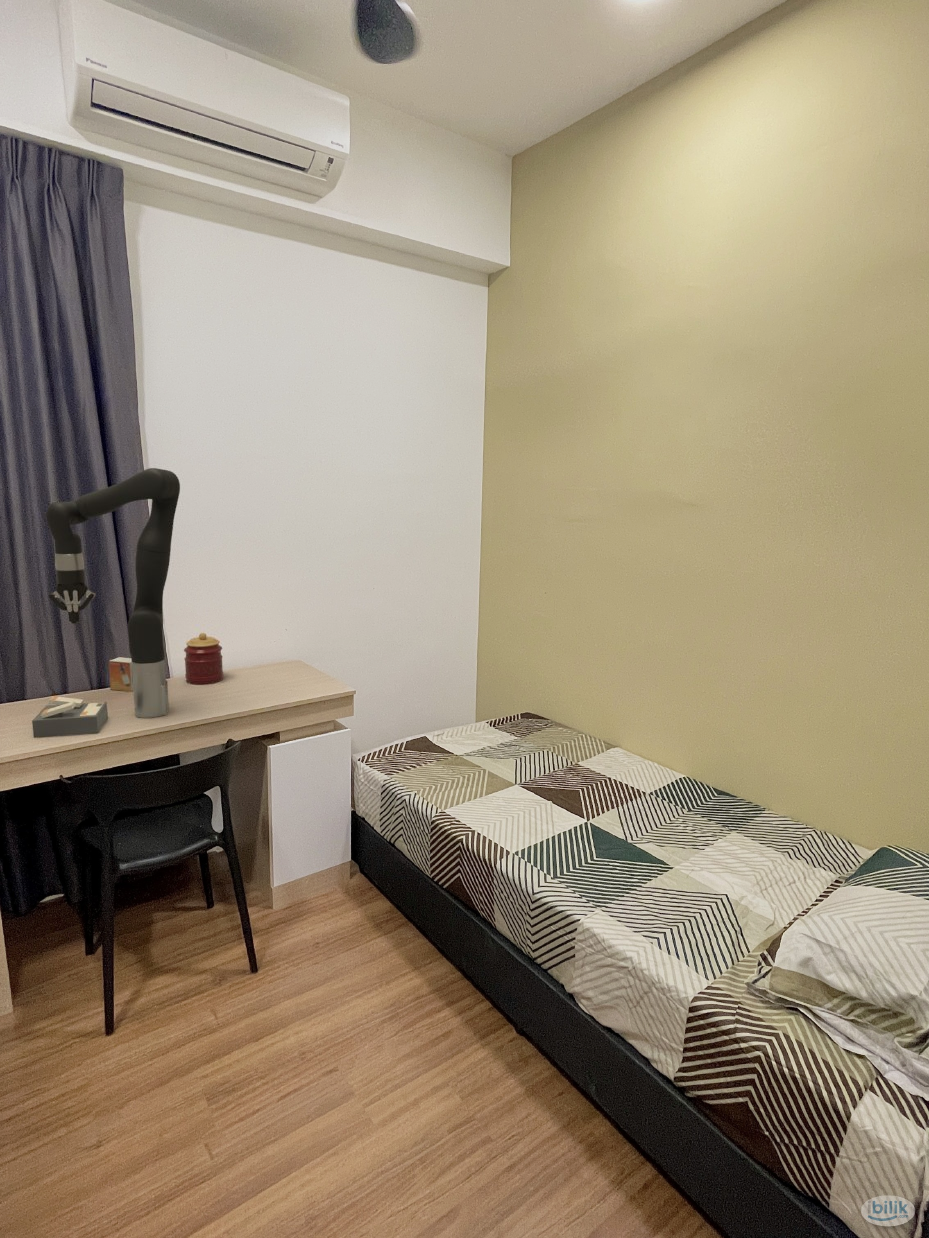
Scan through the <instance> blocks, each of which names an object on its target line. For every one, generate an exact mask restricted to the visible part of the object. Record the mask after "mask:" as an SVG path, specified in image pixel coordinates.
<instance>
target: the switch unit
mask: <svg viewBox="0 0 929 1238" xmlns="http://www.w3.org/2000/svg"><path fill="white" fill-rule="evenodd" d="M57 706H60V705H56V704H49V705H45V706H44V708H42V710H41V711H40V712H39V713H38V714H37V715H36V716H35V717H33V719H32V720H31V723H32V733H33V738H35V739H36V738H48V737H59V736H60V737H62V736H63V737H64V736H77V735H91V734H99V732H100V731H101V730H102V727H103V726H104V725H105V723H106V721H107V720H108V717H109V716H108V715H109V714H108V703H107V701H102V702H86V703H85V702H83V704H82V705H81V706H80V707H74V708H73V709H71V710H68V711H64V712H61V713H58V714H55V715H52V716H48V717H45V718H42V716H41V714H42V713H43V712H44V710H47V709H51V708H54V707H57Z"/></svg>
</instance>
